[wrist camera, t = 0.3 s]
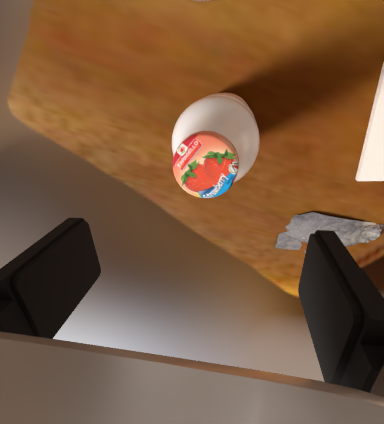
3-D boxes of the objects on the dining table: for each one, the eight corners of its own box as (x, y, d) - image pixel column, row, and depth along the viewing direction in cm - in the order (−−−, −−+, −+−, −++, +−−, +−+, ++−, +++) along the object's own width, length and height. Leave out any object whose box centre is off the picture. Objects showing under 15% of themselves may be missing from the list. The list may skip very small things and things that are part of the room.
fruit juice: (226, 159, 45) (212, 245, 20) (187, 126, 43) (120, 174, 19) (263, 117, 40) (303, 161, 16) (221, 79, 39) (193, 61, 14)
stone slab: (274, 250, 51) (288, 210, 45) (273, 244, 52) (286, 205, 47) (362, 264, 49) (387, 225, 44) (358, 258, 51) (382, 220, 46)
